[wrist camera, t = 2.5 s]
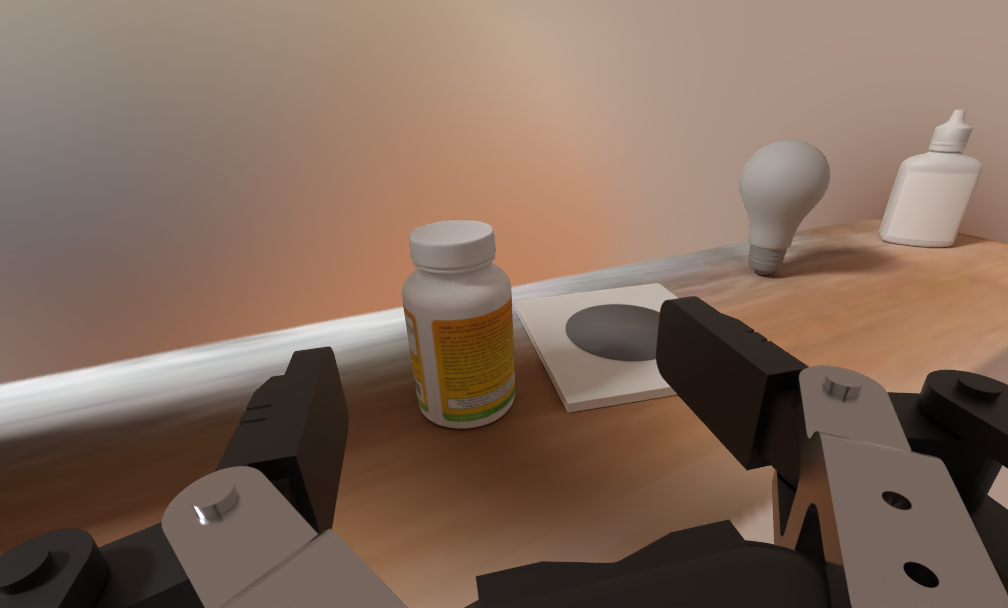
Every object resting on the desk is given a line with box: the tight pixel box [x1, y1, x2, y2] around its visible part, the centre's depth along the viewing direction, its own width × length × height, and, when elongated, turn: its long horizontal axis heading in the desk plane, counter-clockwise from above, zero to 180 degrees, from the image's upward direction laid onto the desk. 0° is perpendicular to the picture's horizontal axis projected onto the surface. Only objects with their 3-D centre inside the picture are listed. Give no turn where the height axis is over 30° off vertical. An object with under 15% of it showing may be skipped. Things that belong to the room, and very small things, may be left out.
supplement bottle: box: [402, 220, 515, 429], centre depth 24 cm, size 5×5×10 cm
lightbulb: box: [739, 139, 830, 275], centre depth 38 cm, size 6×6×11 cm
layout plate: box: [514, 283, 677, 413], centre depth 31 cm, size 12×13×1 cm
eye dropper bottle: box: [879, 110, 982, 247], centre depth 43 cm, size 4×6×12 cm
